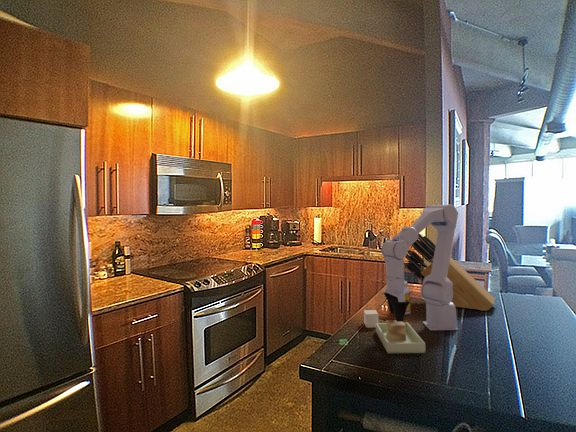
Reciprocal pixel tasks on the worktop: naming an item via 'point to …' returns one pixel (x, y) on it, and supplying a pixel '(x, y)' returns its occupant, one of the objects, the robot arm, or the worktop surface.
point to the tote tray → (406, 346)
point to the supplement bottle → (407, 298)
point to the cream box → (370, 318)
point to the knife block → (450, 277)
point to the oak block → (396, 330)
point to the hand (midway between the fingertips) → (396, 317)
